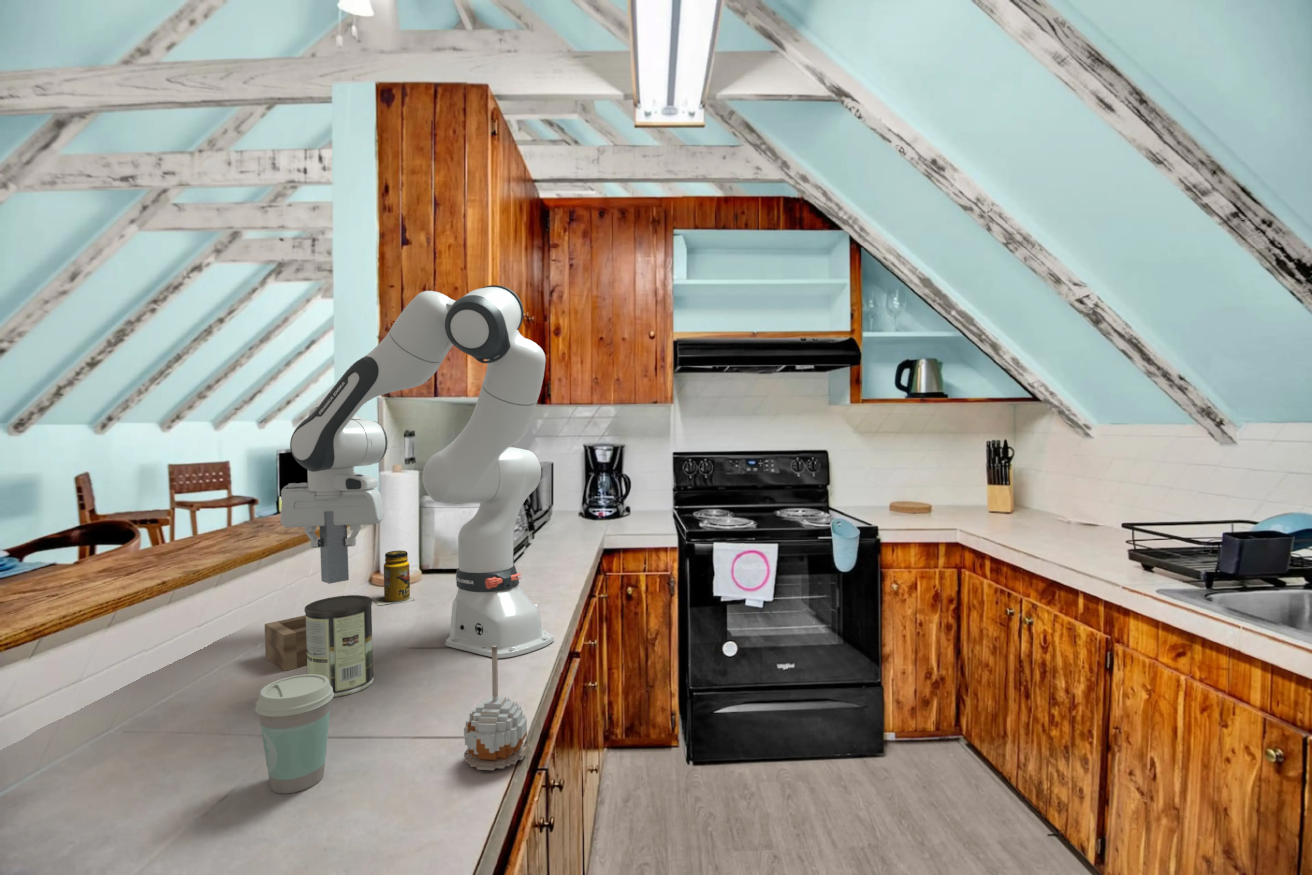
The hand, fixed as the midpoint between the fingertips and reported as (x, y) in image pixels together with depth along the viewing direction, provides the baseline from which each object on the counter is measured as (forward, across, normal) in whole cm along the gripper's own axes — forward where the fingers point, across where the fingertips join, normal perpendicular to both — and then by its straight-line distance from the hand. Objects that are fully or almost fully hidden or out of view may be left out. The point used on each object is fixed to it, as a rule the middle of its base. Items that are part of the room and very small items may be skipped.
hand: (333, 546), depth 137 cm
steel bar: (+7, 0, 0) cm, 7 cm away
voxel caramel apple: (+20, +44, -54) cm, 73 cm away
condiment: (+18, +3, +24) cm, 31 cm away
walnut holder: (+18, 0, -14) cm, 23 cm away
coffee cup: (+20, +20, -58) cm, 65 cm away
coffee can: (+19, +13, -28) cm, 37 cm away
